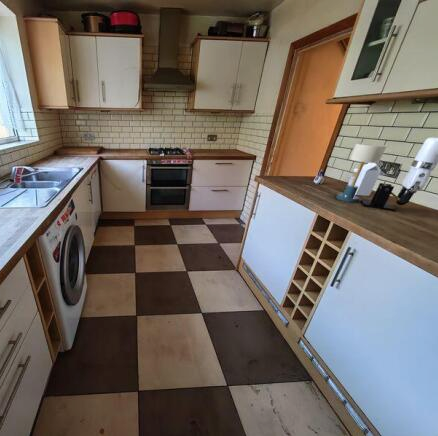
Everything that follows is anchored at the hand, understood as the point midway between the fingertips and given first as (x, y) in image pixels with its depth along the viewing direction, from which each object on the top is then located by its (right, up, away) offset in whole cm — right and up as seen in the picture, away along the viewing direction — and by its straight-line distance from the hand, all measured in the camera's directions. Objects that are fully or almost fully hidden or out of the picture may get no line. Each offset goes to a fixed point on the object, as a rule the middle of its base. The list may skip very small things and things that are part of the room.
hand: (401, 200), depth 115 cm
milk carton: (0, +6, +24) cm, 25 cm away
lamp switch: (-4, +2, +2) cm, 5 cm away
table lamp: (-15, +2, +14) cm, 21 cm away
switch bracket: (-7, -2, +6) cm, 9 cm away
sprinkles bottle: (+2, +10, +31) cm, 33 cm away
